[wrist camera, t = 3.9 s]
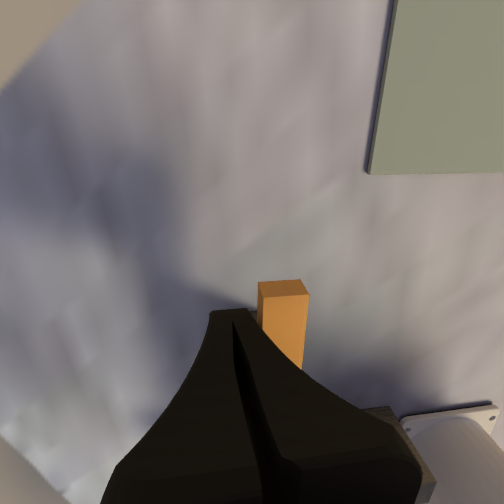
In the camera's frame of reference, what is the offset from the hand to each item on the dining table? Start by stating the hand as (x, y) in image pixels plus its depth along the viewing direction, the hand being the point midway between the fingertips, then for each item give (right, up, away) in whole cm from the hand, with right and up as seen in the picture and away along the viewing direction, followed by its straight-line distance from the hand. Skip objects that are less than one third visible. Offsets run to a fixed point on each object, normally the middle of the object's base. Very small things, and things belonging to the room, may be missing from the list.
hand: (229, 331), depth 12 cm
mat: (+11, +11, +3) cm, 16 cm away
